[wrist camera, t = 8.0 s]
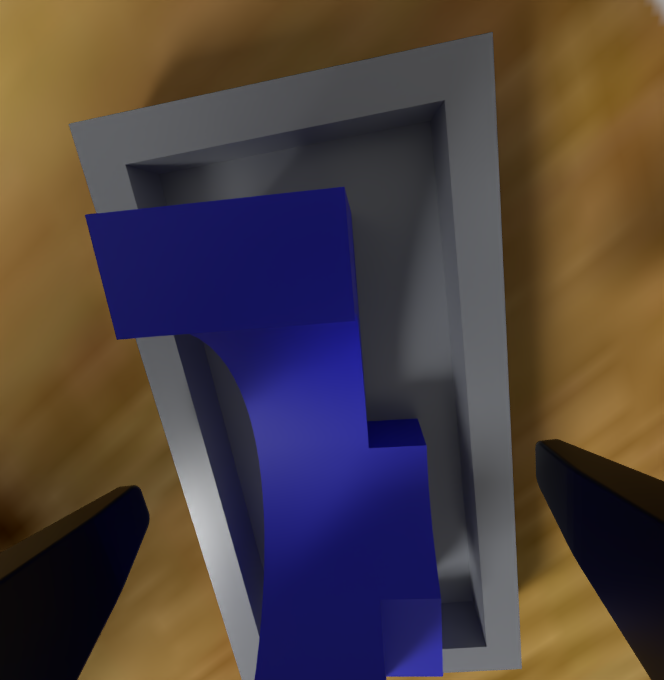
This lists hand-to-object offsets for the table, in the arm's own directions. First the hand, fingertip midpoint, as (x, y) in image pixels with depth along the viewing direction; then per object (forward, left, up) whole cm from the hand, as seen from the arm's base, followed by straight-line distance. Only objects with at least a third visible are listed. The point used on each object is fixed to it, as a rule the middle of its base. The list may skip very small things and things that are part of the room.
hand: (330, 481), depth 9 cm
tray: (0, 0, -4) cm, 4 cm away
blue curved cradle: (0, 0, -3) cm, 3 cm away
